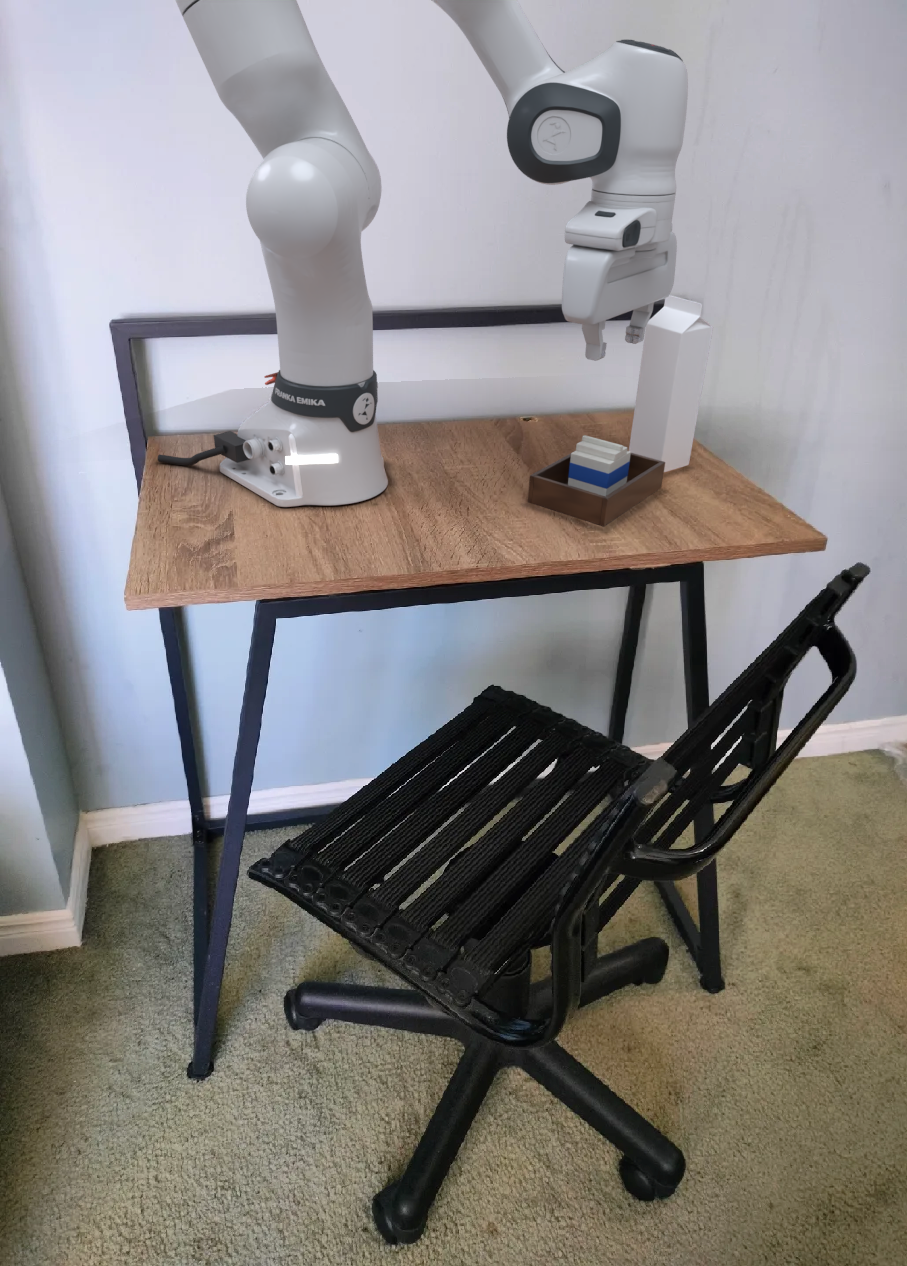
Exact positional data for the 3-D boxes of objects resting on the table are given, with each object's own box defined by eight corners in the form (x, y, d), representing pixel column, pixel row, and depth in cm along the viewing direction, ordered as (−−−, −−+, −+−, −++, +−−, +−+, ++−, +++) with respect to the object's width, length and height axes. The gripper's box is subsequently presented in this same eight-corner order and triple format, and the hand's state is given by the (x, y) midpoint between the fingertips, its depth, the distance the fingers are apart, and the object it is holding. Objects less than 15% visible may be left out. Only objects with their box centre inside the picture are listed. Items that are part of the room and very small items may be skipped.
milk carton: (566, 495, 115) (571, 441, 111) (587, 482, 119) (594, 429, 115) (604, 507, 113) (611, 452, 109) (625, 493, 116) (632, 440, 112)
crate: (527, 505, 113) (529, 475, 111) (588, 470, 124) (591, 441, 122) (603, 530, 108) (607, 499, 106) (660, 491, 119) (665, 461, 116)
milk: (659, 477, 123) (686, 306, 111) (626, 462, 127) (648, 296, 115) (689, 467, 126) (718, 300, 114) (656, 453, 130) (681, 291, 118)
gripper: (647, 207, 107) (632, 328, 115) (556, 227, 93) (545, 363, 101) (697, 213, 104) (678, 337, 112) (611, 234, 90) (596, 374, 98)
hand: (614, 350), depth 106 cm, fingers open, 8 cm apart
